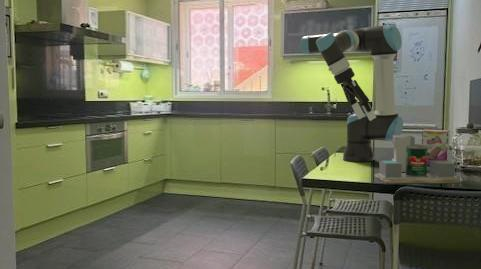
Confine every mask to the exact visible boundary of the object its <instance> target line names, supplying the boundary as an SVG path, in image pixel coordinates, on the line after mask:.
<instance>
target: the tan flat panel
mask: <svg viewBox="0 0 481 269" xmlns="http://www.w3.org/2000/svg"><path fill="white" fill-rule="evenodd" d="M375 174H376V176H378V177H380V178H382V179H383V180H431V179H459V177H458V176H456V175H454V177H438V176H435V175H433V174H430V172H427V176H425V177H411V176H406V175H405V173H402V175H401V177H384V176H383V175H381V174H379V172H376V173H375Z"/></svg>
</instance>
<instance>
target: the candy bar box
mask: <svg viewBox="0 0 481 269" xmlns="http://www.w3.org/2000/svg"><path fill="white" fill-rule="evenodd" d="M450 138H451V130H444V129H443V130H442V129H441V130H440V129H439V130H438V129H423V130H422V138H421V144H422V145H424V146H426V147H428V153H429V155H427V167H430V161H448V162H450V161H449V159H450V141H451V139H450Z"/></svg>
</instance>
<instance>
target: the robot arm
mask: <svg viewBox="0 0 481 269" xmlns="http://www.w3.org/2000/svg"><path fill="white" fill-rule="evenodd" d="M398 28H399V27H397V26H396V25H393V24H389V25H388V24H385V25H384V24H383V25H379V26H378V25H377V26H367V27H362V28H361V27H360V28H357V29H353V30H348V29H344V30H340V31H339V32H336V33H335V32H334V33H333V32H329V33H326V34H314V35H306V36H302V38H301V39H300V43H299V47H300V51H301V53H303V54H304V55H305V54H306V55H312V54H320V55H321V57H322V58H323V60H324V61H325V63H326V65H327V67H328V71H329V72H330V73H331V74H332V75H333V78H334V80H335V82H336V84H337V85H340V86H341V88H342V90H343V94H344V96H345V98H346V101H347V103H348V104H349V105H351V107H352V109H353V111H354V113H355V114H352V115H349V116H348V117H347V121H346V146H345V149H344V152H343V156H342V159H343V160H344V161H346V162H354V163H355V162H358V163H361V162H362V163H364V162H365V163H366V162H367V163H368V162H374V161H375V154H374V151H373V147H372V145H371V144H372V142H371V141H383V142H385V141H386V142H392V139H393V135H394V136H395V135H398V136H402V133H403V127H404V120H403V117H401V116H399V112H398V111H397V110H396V109H395V108H396V106H395V66H394V65H395V64H394V60H395V57H396V56H397V55H398V51H399V50H400V49H401V48H402V42H403V41H402V35H401V32H400V29H398ZM344 52H357V53H370V57H371V58H372V59H373V62H374V89H375V90H374V91H375V92H374V93H375V110H373V108H372V107H371V105H370V103H369V102H370V98H368V95H367V94H366V93H365V92H364V90H363V89H362V88H361V86H360V85H359V84H358V82H357V79H353V78H354V77H355V75H356V74H355V72H354V70H353V68H352V67H350V66H351V65H350V62H349V61H348V59H347V57H346V56H345V53H344ZM359 103H360V104H359ZM361 107H362V108H361ZM362 109H363V110H362ZM373 160H374V161H373Z"/></svg>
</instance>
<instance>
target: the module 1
mask: <svg viewBox="0 0 481 269" xmlns="http://www.w3.org/2000/svg"><path fill="white" fill-rule="evenodd" d="M378 164H379V165H378V167H379V168H378V173H379V174H381V175H383V176H384V177H401V175H402V164H401V163H398V162H396V161H392V160H379V161H378Z"/></svg>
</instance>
